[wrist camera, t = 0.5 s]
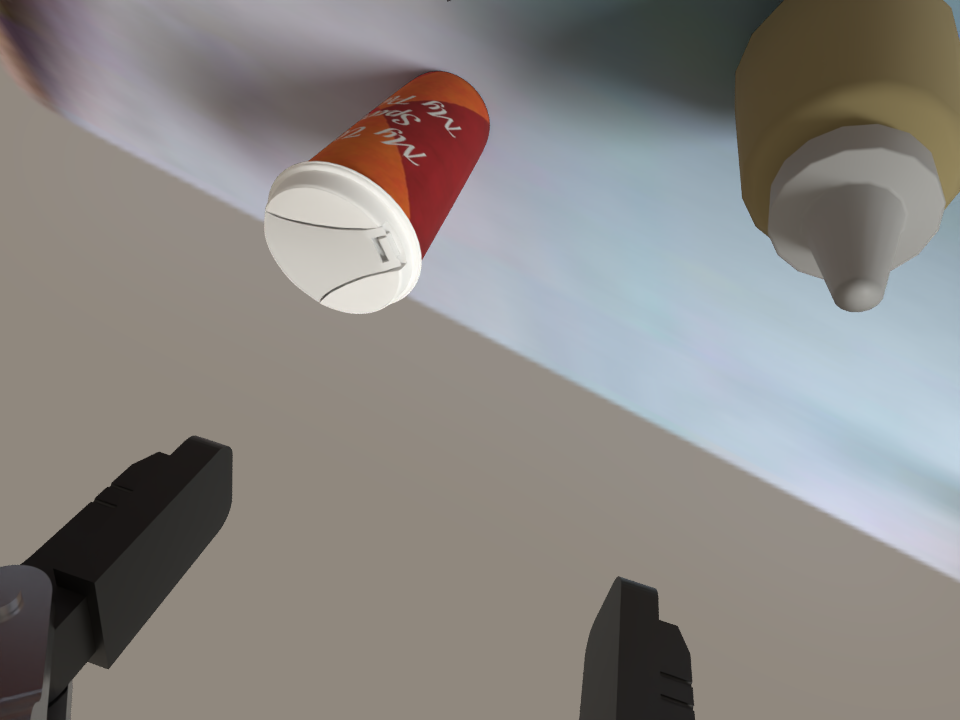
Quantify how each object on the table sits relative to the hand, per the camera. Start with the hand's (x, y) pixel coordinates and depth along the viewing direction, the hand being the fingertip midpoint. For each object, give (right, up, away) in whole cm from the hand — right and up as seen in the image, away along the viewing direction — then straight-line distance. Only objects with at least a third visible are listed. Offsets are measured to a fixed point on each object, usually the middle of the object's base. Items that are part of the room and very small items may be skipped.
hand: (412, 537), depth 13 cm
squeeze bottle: (+17, +18, +16) cm, 29 cm away
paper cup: (-1, +18, +25) cm, 31 cm away
